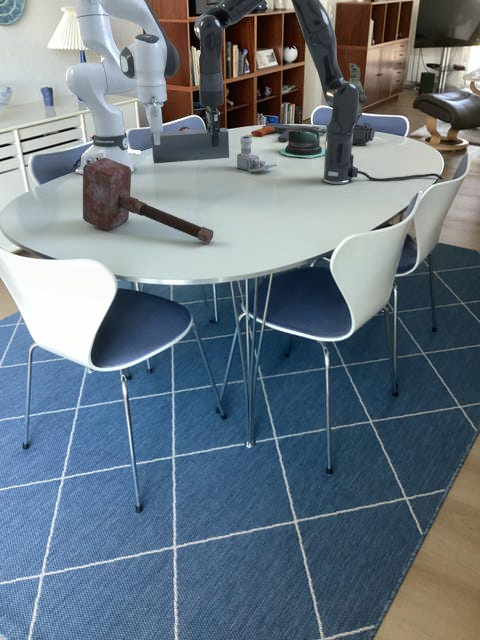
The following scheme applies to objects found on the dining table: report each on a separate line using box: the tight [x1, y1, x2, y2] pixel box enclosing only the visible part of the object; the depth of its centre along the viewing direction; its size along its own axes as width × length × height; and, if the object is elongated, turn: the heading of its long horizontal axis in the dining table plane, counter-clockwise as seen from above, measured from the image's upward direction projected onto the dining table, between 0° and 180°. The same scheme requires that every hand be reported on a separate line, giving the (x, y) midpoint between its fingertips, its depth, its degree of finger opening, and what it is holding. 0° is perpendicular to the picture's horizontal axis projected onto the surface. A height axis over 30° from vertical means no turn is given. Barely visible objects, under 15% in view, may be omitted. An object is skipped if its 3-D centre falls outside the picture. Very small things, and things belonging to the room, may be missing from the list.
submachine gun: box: [250, 122, 326, 142], centre depth 262 cm, size 32×3×25 cm
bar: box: [149, 127, 230, 165], centre depth 179 cm, size 24×6×8 cm, turn 101°
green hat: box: [279, 128, 325, 159], centre depth 234 cm, size 15×19×20 cm
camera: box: [236, 135, 277, 173], centre depth 210 cm, size 9×12×15 cm
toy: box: [352, 122, 376, 146], centre depth 244 cm, size 9×9×15 cm
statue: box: [348, 62, 368, 125], centre depth 262 cm, size 11×9×30 cm
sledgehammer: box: [82, 158, 214, 244], centre depth 155 cm, size 17×10×40 cm
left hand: (156, 140), depth 176 cm, fingers open, 8 cm apart
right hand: (214, 144), depth 180 cm, fingers closed on bar, 5 cm apart
